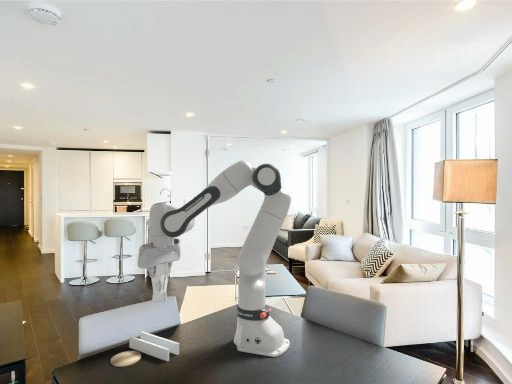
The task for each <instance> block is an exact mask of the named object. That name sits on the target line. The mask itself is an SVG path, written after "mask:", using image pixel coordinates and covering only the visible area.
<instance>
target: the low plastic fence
mask: <svg viewBox="0 0 512 384" xmlns="http://www.w3.org/2000/svg"><path fill="white" fill-rule="evenodd" d="M139 335H140V336H139V338H138V337H135V336H129V345H128V347H129V348H130V349H131V350H132V349H133V350H134V351H137V352H139V353H144V354H146V355H148V356H152V357H154V358H157V359H159V360H162V361H166V362H169V361H170V354H174V355H176V356H179V355H180V342H176V341H174V340H171V339H167V338H164V337H160V336H158V335H155V334H152V333H148V332H145V331H143V330H142V331H140V333H139Z"/></svg>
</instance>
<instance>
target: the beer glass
mask: <svg viewBox="0 0 512 384" xmlns="http://www.w3.org/2000/svg"><path fill="white" fill-rule="evenodd" d="M153 272H154V273H155V277H154V278H151V285H152V299H151V301H152V302H155V303H161V302H165V301H167V300H168V291H167V288H168V284H169V276H170V273H169V266H168V262H167V263H165V264H158V265H157V266H154V269H153Z"/></svg>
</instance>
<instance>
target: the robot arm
mask: <svg viewBox="0 0 512 384" xmlns="http://www.w3.org/2000/svg"><path fill="white" fill-rule="evenodd" d="M281 178H282V177H281V174H280V171H279V169H278V168H277V167H276V166H275V165H274V164H272V163H262V164H259V165H258V166H257V167H254V166H253V165H252V164H251V163H250V162H248V161H247V160H245V159H243V160H238V161H237V162H234V163H232V164H231V165H230V166H228V167H227V168H225V169H223V171H221V172H220V173H219V174H218V175H217V176H215V177H214V178H213V179H212V180H211V181H210V183H209V184H207V185H206V187H205V188H204V189H203V190H201V192H199V193H198V194H197V195H196V196H194V197H193V198H192V199H190V200H189V201H188V202H187V203H185V204H184V205H182V206H181V207H176V206H174V204H171V203H170V202H168V201H164V202H157V203H154V204H152V205H151V206H150V210H149V214H148V215H149V216H148V217H149V218H148V224H149V233H148V243H143V244H142V245H141V246H140V247H139V248H138V255H137V267H138V268H139V269H143V270H144V269H147V271H148V273H149V278H154V277H155V273H154V272H153V269H154V266H157V265H158V264H165V263H167V262H168V266H169V274H170V273H171V267H172V266H173V262H178V261H179V260H180V259H181V256H182V255H181V253H182V252H181V250H182V249H181V245H180V244H181V239H180V238H178V237H180V236H182V235H184V234H185V233H188V232H190V231H191V230H193V227H194V226H195V222H196V221H195V218H196V217H198V216H199V215H201V214H202V213H203V212H205V210H207V209H209V208H210V207H212V206H215V205H218V204H222V203H225V202H227V201H229V200H230V199H233V197H235V196H237V195H238V194H239V193H241V192H242V191H243V190H244V189H246V188H247V187H249V186H253V188H255V189H257V190H258V191H260V192H261V193H263V194H264V195H263V196H264V199H263V201H262V204H261V206H260V207H259V208H260V209H259V210H258V213H257V215H256V216H255V218H254V221H253V223H252V225H251V227H250V229H249V232H248V234H247V236H246V238H245V241H244V242H243V245H242V247H241V249H240V251H239V254H238V256H237V260H236V261H237V265H238V268H239V272H238V286H237V287H238V288H237V292H238V296H237V306H236V316H237V321H236V322H237V323H236V329H235V330H236V331H235V334H234V339H233V344H235V346H236V349H237V351H238V352H243V353H249V354H253V355H261V356H266V357H272V358H277V357H280V356H281V355H283V354H284V353H286V352H287V351H288V349H289V348H290V346H291V345H290V344H291V343H290V339H288V338H285V333H284V330H283V327H282V326H281V325H280V324H279V323H277V321H276V320H274V318H272V316H270V312H272V308H271V307H270V308H269V309H268V306H267V304H266V285H267V284H266V281H267V280H266V275H267V274H266V269H267V268H266V264H267V261H269V258H270V255H271V252H272V250H273V247H274V246H275V242H276V240H277V237H278V235H279V234H280V231H281V229H282V227H283V224H284V222H285V220H286V218H287V215H288V213H289V210H290V206H291V203H292V196H291V194H290V193H289V192H288V191H287V190H285V189H284V188H282V181H281Z"/></svg>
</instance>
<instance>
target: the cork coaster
mask: <svg viewBox="0 0 512 384" xmlns="http://www.w3.org/2000/svg"><path fill="white" fill-rule="evenodd" d="M141 359H142V352H140V351H137V350H127V351H122V352H119V353H117V354H114V356H112V357H111V359H110V364H111V365H112V366H113V367H117V368H119V367H120V368H121V367H128V366H131V365H134V364H137V363H138V362H139V361H140V360H141Z"/></svg>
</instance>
